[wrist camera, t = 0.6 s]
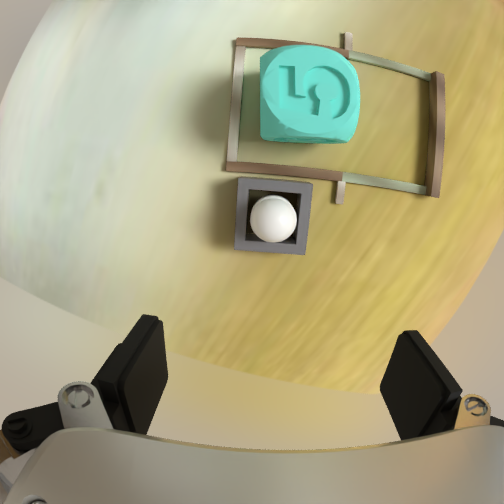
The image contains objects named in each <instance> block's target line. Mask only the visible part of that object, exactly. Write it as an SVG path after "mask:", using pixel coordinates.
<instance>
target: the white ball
mask: <svg viewBox="0 0 504 504" xmlns="http://www.w3.org/2000/svg"><path fill="white" fill-rule="evenodd" d="M296 222H297V218H296V213H295V210H294V208H293V207H292V205H291V204H290V202H289V201H288V200H287V199H286V198H284V197H282V196H280V195H276V194H269V195H265V196H263V197H261V198H260V199H258V200H257V201H256V203H255V204H254V206H253V208H252V212H251V217H250V223H251V227H252V230H253V231H254V233H255V234H256V235H257V236H258V237H259V238H260V239H262V240H264V241H267V242H274V243H275V242H280V241H283V240H285V239H287V238H288V237H289V236H290V235H291V234H292V233H293V231H294V229H295V227H296Z"/></svg>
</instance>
